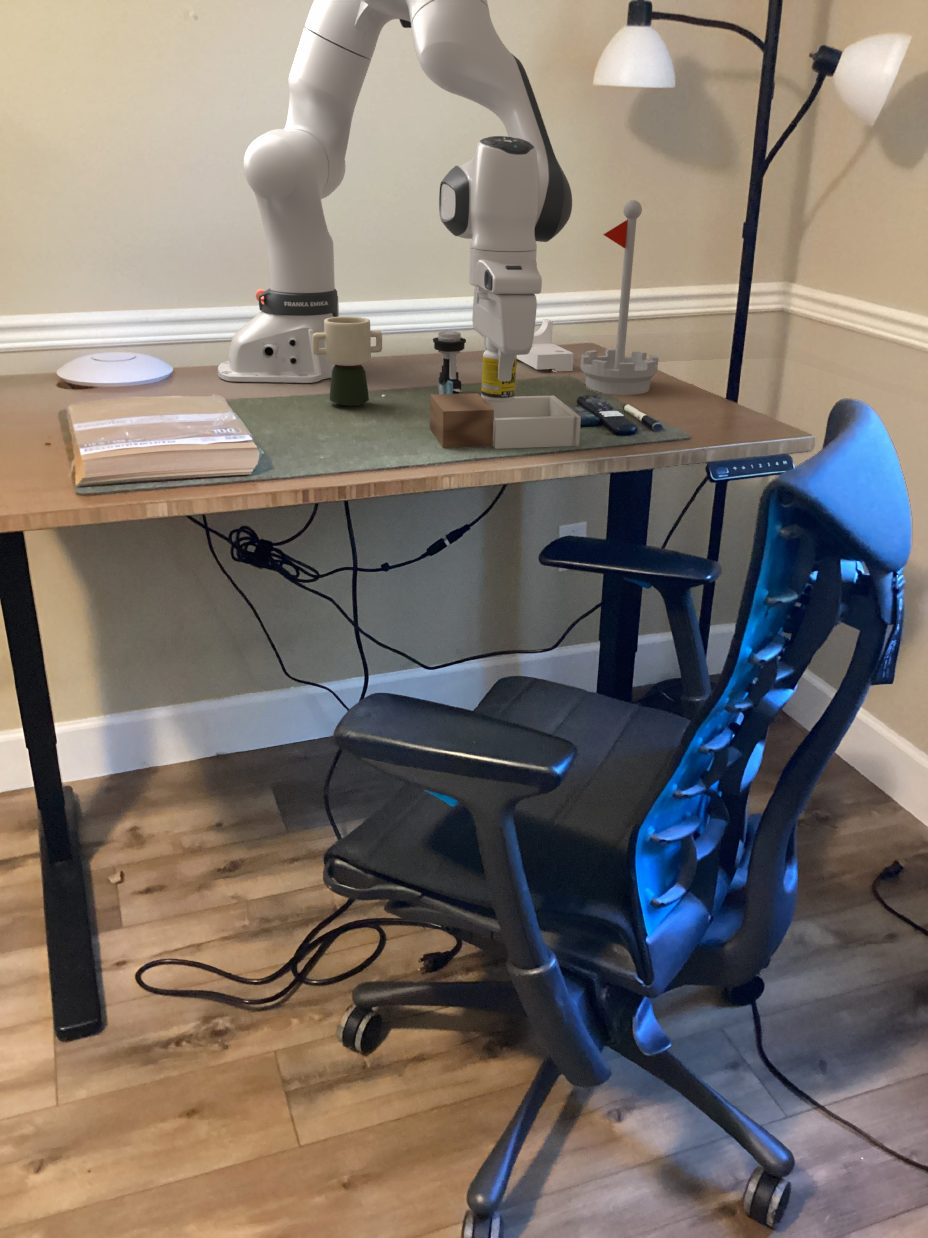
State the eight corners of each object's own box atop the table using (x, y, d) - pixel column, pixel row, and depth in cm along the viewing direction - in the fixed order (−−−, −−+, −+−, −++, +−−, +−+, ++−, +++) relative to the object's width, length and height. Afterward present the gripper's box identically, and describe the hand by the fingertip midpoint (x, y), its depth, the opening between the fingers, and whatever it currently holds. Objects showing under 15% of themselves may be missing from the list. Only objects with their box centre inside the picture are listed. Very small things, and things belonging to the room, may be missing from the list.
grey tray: (495, 448, 139) (496, 419, 137) (474, 424, 150) (475, 397, 149) (578, 445, 141) (580, 417, 139) (552, 421, 153) (554, 395, 151)
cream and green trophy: (377, 397, 164) (376, 314, 159) (388, 407, 158) (387, 322, 153) (310, 401, 161) (307, 317, 156) (319, 412, 155) (316, 324, 150)
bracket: (511, 360, 196) (513, 320, 192) (545, 359, 198) (547, 319, 194) (536, 374, 185) (539, 331, 181) (572, 372, 187) (575, 330, 183)
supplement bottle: (504, 404, 140) (507, 342, 136) (474, 399, 142) (476, 337, 138) (520, 397, 144) (524, 336, 140) (491, 392, 146) (494, 332, 142)
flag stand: (627, 377, 183) (643, 197, 170) (670, 392, 172) (691, 202, 160) (565, 382, 178) (577, 197, 165) (605, 398, 167) (621, 202, 154)
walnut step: (442, 447, 139) (443, 411, 137) (429, 428, 148) (430, 394, 145) (492, 445, 140) (493, 409, 138) (476, 427, 149) (477, 393, 147)
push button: (473, 399, 165) (475, 336, 161) (443, 401, 163) (444, 338, 159) (456, 390, 170) (457, 329, 166) (427, 392, 168) (427, 331, 164)
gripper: (463, 262, 144) (461, 360, 150) (497, 281, 126) (493, 392, 132) (506, 262, 145) (502, 359, 151) (546, 281, 127) (539, 391, 133)
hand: (498, 375), depth 141 cm, fingers closed on supplement bottle, 5 cm apart
